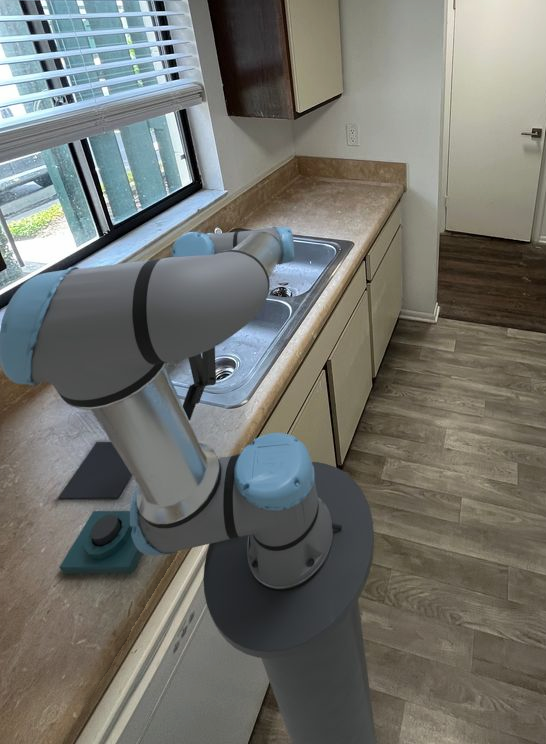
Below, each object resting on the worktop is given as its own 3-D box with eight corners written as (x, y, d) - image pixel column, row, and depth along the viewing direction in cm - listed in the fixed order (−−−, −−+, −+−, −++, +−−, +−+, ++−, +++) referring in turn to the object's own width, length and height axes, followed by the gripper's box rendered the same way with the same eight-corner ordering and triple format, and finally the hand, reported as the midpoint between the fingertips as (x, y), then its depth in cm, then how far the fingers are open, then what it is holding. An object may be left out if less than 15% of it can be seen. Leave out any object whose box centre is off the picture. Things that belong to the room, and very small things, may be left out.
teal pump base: (159, 517, 83) (153, 504, 81) (132, 573, 75) (125, 561, 73) (97, 517, 83) (90, 505, 81) (63, 574, 75) (55, 561, 73)
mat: (150, 442, 97) (150, 441, 97) (118, 498, 86) (117, 497, 86) (97, 443, 97) (96, 441, 97) (58, 499, 86) (57, 497, 86)
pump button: (125, 520, 79) (122, 514, 78) (112, 545, 76) (108, 539, 75) (103, 521, 79) (100, 514, 78) (89, 546, 76) (85, 539, 75)
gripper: (254, 319, 93) (219, 426, 87) (165, 295, 101) (127, 392, 95) (233, 315, 86) (193, 431, 80) (139, 290, 94) (96, 394, 88)
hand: (157, 410), depth 87 cm, fingers open, 13 cm apart
